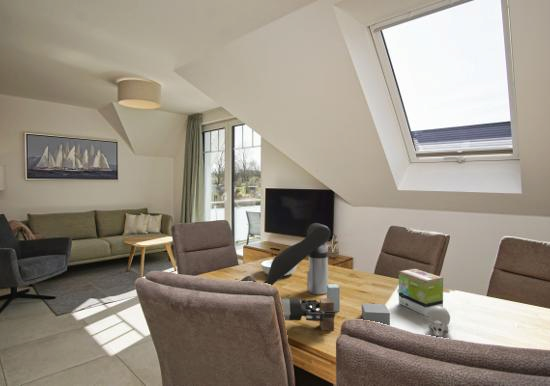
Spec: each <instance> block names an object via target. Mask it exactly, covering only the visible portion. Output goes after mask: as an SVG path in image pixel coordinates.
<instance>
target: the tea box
mask: <svg viewBox="0 0 550 386" xmlns="http://www.w3.org/2000/svg"><path fill="white" fill-rule="evenodd" d="M398 289H399V293H398V304H400V305H402V306H404V307H407V308H408V309H411V310H413V311H415V312H417V313H419V314H421V315H422V314H423V316H424V317H428V311H429V309H430V308H431V307H433V306H441V307H443V308H444V277H442V276H440V275H437V274H433V273H429V272H427V271H423V270H422V269H421V270H420V269H419V268H418V269H417V268H410V269H407V270H406V269H405V270H400V271H398Z"/></svg>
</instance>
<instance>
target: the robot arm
mask: <svg viewBox="0 0 550 386" xmlns="http://www.w3.org/2000/svg"><path fill="white" fill-rule="evenodd" d="M330 237H331V229H330V228H329V227H328V226H327V225H325V224H321V223H318V222H314V223H311V224H310V225H309V226H308V227H307V230H306V237H305V238H303V239H302V240H301V241H300V242H298V243H294V244H292V245H291V246H288V247H287V248H285V249H283V250H282V251H281V252H279V254H277V255H276V256H275V257H274V258H273V261H272V264H271V267H270V270H269V273H268V274H267V275H266V278H265V280H264V281H263V283H268V284H271V285H272V286H273V285H275V283H277V282H278V281H279V280H280V279H281V278H283V277H285V276H284V275H285V274H287V273H288V272H289V271H290V270H291V269H293V268H294V267H295V266H296V265H297V266H298V264H300V263H301V262H302V261H303V260H304V259H305V258H307V257H308V271H307V275H306V276H307V277H306V278H307V279H306V280H307V282H306V283H307V284H306V285H307V292H309V293H310V294H313V295H325V294H326V295H327V284H329V253H328V250H327V248H326V243H327V242H328V241H329V240H330ZM240 281H253V282H257V280H256V279H255V278H254V277H253V276H251V275H247V276H245V277H243V278H242V279H240ZM280 299H281V303H282V307H283V312H284V317H285V320H284V321H298V322H299V321H301V320H302V317H305V320H306V321H308V322H309V321H311V322H313V321H314V322H320V321H323V319H324V318H334V319H335V317H336V313H335V312H336V311H321V310H320V301H317V300H316V299H301V298H288V297H287V298H283V297H282V298H281V297H280Z"/></svg>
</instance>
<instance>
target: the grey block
mask: <svg viewBox="0 0 550 386" xmlns="http://www.w3.org/2000/svg"><path fill="white" fill-rule="evenodd" d="M361 317H362V319H364V320H370V321H375V322H380V323H383V324H387V325H391V312H390V311H389V309H388V307H387V305H386V304H385V303H365V302H364V303H361ZM364 320H363V321H364Z"/></svg>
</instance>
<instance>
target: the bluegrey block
mask: <svg viewBox="0 0 550 386" xmlns="http://www.w3.org/2000/svg"><path fill="white" fill-rule="evenodd" d="M340 288H341V287H340V286H339V284H338V283H334V284H333V283H328V284H327V293H326V298H332V300H333V302H334V312H340V310H341V309H340V306H341V305H340V304H341V303H340V299H341V298H340V297H341V295H340V294H341V292H340Z"/></svg>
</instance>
